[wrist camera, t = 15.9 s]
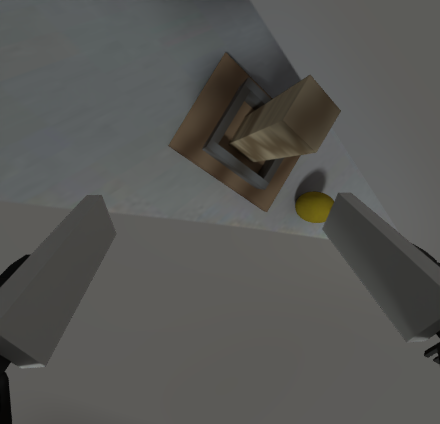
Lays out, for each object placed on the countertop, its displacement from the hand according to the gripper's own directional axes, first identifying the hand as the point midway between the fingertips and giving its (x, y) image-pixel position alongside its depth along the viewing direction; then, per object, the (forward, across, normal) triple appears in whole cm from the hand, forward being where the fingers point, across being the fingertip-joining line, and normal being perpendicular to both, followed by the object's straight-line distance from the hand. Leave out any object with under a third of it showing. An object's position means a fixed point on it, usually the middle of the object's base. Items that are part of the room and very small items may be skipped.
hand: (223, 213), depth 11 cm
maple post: (+23, +6, -2) cm, 24 cm away
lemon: (+22, +17, -14) cm, 31 cm away
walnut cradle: (+24, +6, -3) cm, 25 cm away
